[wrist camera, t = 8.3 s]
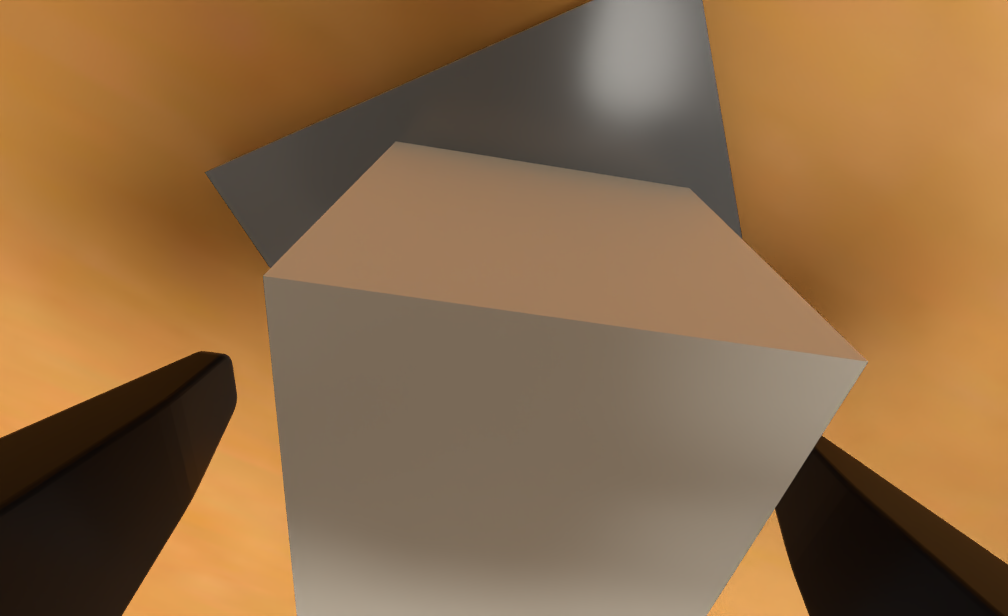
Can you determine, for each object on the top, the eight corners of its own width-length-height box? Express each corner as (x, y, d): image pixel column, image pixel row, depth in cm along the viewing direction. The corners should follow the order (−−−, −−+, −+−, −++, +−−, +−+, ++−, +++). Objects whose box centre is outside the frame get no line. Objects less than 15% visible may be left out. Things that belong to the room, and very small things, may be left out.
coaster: (758, 381, 13) (768, 395, 13) (423, 471, 15) (419, 487, 15) (684, -42, 9) (695, -45, 8) (219, 164, 11) (204, 172, 10)
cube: (689, 188, 10) (868, 361, 5) (613, 409, 13) (677, 662, 8) (395, 141, 10) (262, 275, 5) (385, 379, 13) (297, 623, 8)
